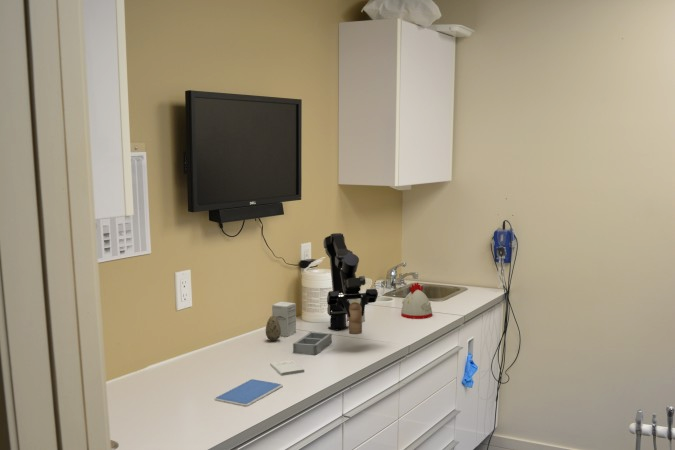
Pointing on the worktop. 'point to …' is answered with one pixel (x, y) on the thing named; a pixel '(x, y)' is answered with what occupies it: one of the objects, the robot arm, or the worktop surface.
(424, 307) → the grey beanie hat
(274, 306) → the supplement box
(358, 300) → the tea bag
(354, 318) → the dome-topped wooden peg
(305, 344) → the grey divided tray
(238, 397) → the tablet computer
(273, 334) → the decorative egg
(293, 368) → the external hard drive
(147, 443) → the worktop surface
